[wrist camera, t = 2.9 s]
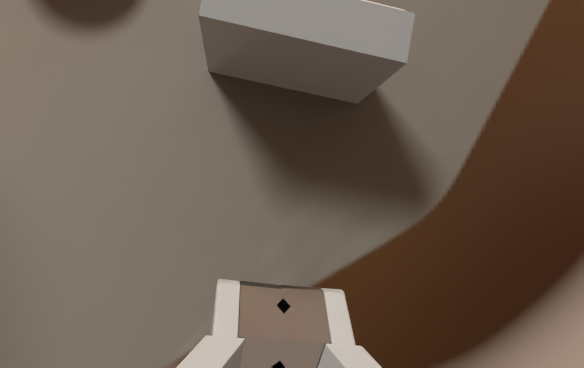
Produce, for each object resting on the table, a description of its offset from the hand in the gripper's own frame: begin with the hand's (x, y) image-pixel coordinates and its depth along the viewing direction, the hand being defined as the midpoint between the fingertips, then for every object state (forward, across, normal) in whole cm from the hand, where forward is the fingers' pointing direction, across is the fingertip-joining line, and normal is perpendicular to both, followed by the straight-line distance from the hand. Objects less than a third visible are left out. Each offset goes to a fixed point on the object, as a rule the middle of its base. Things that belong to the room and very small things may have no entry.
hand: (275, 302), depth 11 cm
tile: (+22, +2, -2) cm, 22 cm away
